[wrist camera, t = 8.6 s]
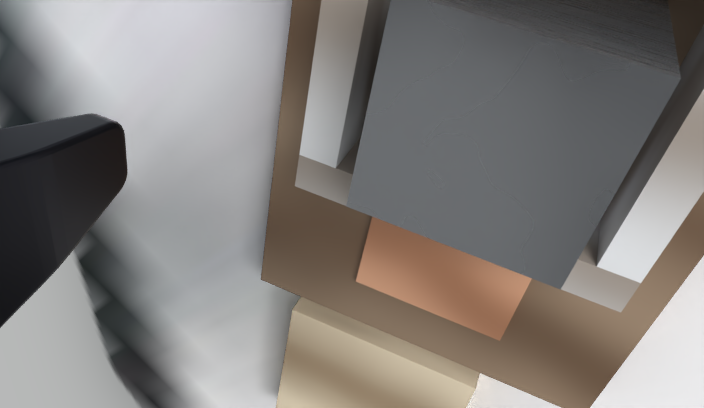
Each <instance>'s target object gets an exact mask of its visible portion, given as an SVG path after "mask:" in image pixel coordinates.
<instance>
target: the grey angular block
mask: <svg viewBox="0 0 704 408" xmlns="http://www.w3.org/2000/svg"><path fill="white" fill-rule="evenodd" d="M680 80H681V75H680V69H679V63H678V58H677V52H676V46H675V40H674V34H673V28H672V22H671V16H670V10H669V4H668V0H391V1H390V6H389V10H388V15H387V20H386V24H385V29H384V34H383V38H382V43H381V47H380V52H379V57H378V61H377V66H376V70H375V75H374V80H373V84H372V89H371V93H370V98H369V103H368V107H367V112H366V116H365V121H364V126H363V130H362V135H361V139H360V144H359V149H358V153H357V158H356V162H355V167H354V172H353V176H352V181H351V186H350V190H349V195H348V199H347V204H346V206H347V207H349V208H352V209H354V210H357V211H359V212H362V213H365V214H367V215H370V216H372V217H375V218H377V219H380V220H383V221H385V222H388V223H390V224H393V225H395V226H398V227H401V228H403V229H406V230H408V231H411V232H413V233H416V234H419V235H421V236H424V237H426V238H429V239H432V240H434V241H437V242H439V243H442V244H444V245H447V246H450V247H452V248H455V249H457V250H460V251H462V252H465V253H468V254H470V255H473V256H475V257H478V258H480V259H483V260H486V261H488V262H491V263H493V264H496V265H498V266H501V267H504V268H506V269H509V270H511V271H514V272H516V273H519V274H522V275H524V276H527V277H529V278H532V279H534V280H537V281H540V282H542V283H545V284H547V285H550V286H553V287H555V288H558V289H560V290H561V288H562V286H563V285H564V283H565V281H566V279H567V278H568V276H569V274H570V272H571V271H572V269H573V267H574V265H575V264H576V262H577V260H578V258H579V257H580V255H581V253H582V251H583V250H584V248H585V246H586V244H587V243H588V241H589V239H590V237H591V236H592V234H593V232H594V230H595V229H596V227H597V225H598V223H599V222H600V220H601V218H602V216H603V215H604V213H605V211H606V209H607V208H608V206H609V204H610V202H611V201H612V199H613V197H614V195H615V194H616V192H617V190H618V188H619V187H620V185H621V183H622V181H623V180H624V178H625V176H626V174H627V173H628V171H629V169H630V167H631V165H632V164H633V162H634V160H635V158H636V157H637V155H638V153H639V151H640V150H641V148H642V146H643V144H644V143H645V141H646V139H647V137H648V136H649V134H650V132H651V130H652V129H653V127H654V125H655V123H656V122H657V120H658V118H659V116H660V115H661V113H662V111H663V109H664V108H665V106H666V104H667V102H668V101H669V99H670V97H671V95H672V94H673V92H674V90H675V88H676V87H677V85H678V83H679V81H680Z"/></svg>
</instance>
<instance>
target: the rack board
mask: <svg viewBox="0 0 704 408" xmlns="http://www.w3.org/2000/svg"><path fill="white" fill-rule="evenodd" d="M390 1H391V0H292V9H291V18H290V27H289V35H288V44H287V53H286V62H285V71H284V80H283V88H282V97H281V106H280V115H279V124H278V133H277V141H276V150H275V159H274V168H273V177H272V186H271V194H270V203H269V212H268V221H267V230H266V239H265V247H264V256H263V265H262V274H261V280H263V281H266V282H268V283H270V284H273V285H275V286H277V287H280V288H282V289H284V290H287V291H289V292H291V293H294V294H296V295H299V296H301V297H303V298H306V299H308V300H310V301H313V302H315V303H317V304H320V305H322V306H324V307H327V308H329V309H331V310H334V311H336V312H338V313H341V314H343V315H345V316H348V317H350V318H353V319H355V320H357V321H360V322H362V323H364V324H367V325H369V326H371V327H374V328H376V329H378V330H381V331H383V332H385V333H388V334H390V335H392V336H395V337H397V338H400V339H402V340H404V341H407V342H409V343H411V344H414V345H416V346H418V347H421V348H423V349H425V350H428V351H430V352H432V353H435V354H437V355H439V356H442V357H444V358H447V359H449V360H451V361H454V362H456V363H458V364H461V365H463V366H465V367H468V368H470V369H472V370H475V371H477V372H479V373H482V374H484V375H486V376H489V377H491V378H494V379H496V380H498V381H501V382H503V383H505V384H508V385H510V386H512V387H515V388H517V389H519V390H522V391H524V392H526V393H529V394H531V395H533V396H536V397H538V398H541V399H543V400H545V401H548V402H550V403H552V404H555V405H557V406H559V407H562V408H590V407H591V405H592V404H593V403H594V401H595V400H596V399H597V397H598V396H599V395H600V393H601V392H602V391H603V389H604V388H605V387H606V385H607V384H608V382H609V381H610V380H611V378H612V377H613V376H614V374H615V373H616V372H617V370H618V369H619V368H620V366H621V365H622V364H623V362H624V361H625V360H626V358H627V357H628V356H629V354H630V353H631V352H632V350H633V349H634V348H635V346H636V345H637V344H638V342H639V341H640V340H641V338H642V337H643V336H644V334H645V333H646V332H647V330H648V329H649V328H650V326H651V325H652V324H653V322H654V321H655V320H656V318H657V317H658V316H659V314H660V313H661V312H662V310H663V309H664V308H665V306H666V305H667V304H668V302H669V301H670V300H671V298H672V297H673V296H674V294H675V293H676V292H677V290H678V289H679V288H680V286H681V285H682V284H683V282H684V281H685V279H686V278H687V277H688V275H689V274H690V273H691V271H692V270H693V269H694V267H695V266H696V265H697V263H698V262H699V261H700V259H701V258H702V257H703V255H704V0H668V4H669V10H670V16H671V22H672V28H673V34H674V40H675V46H676V52H677V58H678V63H679V69H680V75H681V80H680V81H679V83H678V85H677V87H676V88H675V90H674V92H673V94H672V95H671V97H670V99H669V101H668V102H667V104H666V106H665V108H664V109H663V111H662V113H661V115H660V116H659V118H658V120H657V122H656V123H655V125H654V127H653V129H652V130H651V132H650V134H649V136H648V137H647V139H646V141H645V143H644V144H643V146H642V148H641V150H640V151H639V153H638V155H637V157H636V158H635V160H634V162H633V164H632V165H631V167H630V169H629V171H628V173H627V174H626V176H625V178H624V180H623V181H622V183H621V185H620V187H619V188H618V190H617V192H616V194H615V195H614V197H613V199H612V201H611V202H610V204H609V206H608V208H607V209H606V211H605V213H604V215H603V216H602V218H601V220H600V222H599V223H598V225H597V227H596V229H595V230H594V232H593V234H592V236H591V237H590V239H589V241H588V243H587V244H586V246H585V248H584V250H583V251H582V253H581V255H580V257H579V258H578V260H577V262H576V264H575V265H574V267H573V269H572V271H571V272H570V274H569V276H568V278H567V279H566V281H565V283H564V285H563V286H562V288H561V290H560V289H558V288H555V287H553V286H550V285H547V284H545V283H542V282H540V281H537V280H534V279H532V278H529V277H527V276H524V275H522V274H519V273H516V272H514V271H511V270H509V269H506V268H504V267H501V266H498V265H496V264H493V263H491V262H488V261H486V260H483V259H480V258H478V257H475V256H473V255H470V254H468V253H465V252H462V251H460V250H457V249H455V248H452V247H450V246H447V245H444V244H442V243H439V242H437V241H434V240H432V239H429V238H426V237H424V236H421V235H419V234H416V233H413V232H411V231H408V230H406V229H403V228H401V227H398V226H395V225H393V224H390V223H388V222H385V221H383V220H380V219H377V218H375V217H372V216H370V215H367V214H365V213H362V212H359V211H357V210H354V209H352V208H349V207H347V206H346V204H347V199H348V195H349V190H350V186H351V181H352V176H353V172H354V167H355V162H356V158H357V153H358V149H359V144H360V139H361V135H362V130H363V126H364V121H365V116H366V112H367V107H368V103H369V98H370V93H371V89H372V84H373V80H374V75H375V70H376V66H377V61H378V57H379V52H380V47H381V43H382V38H383V34H384V29H385V24H386V20H387V15H388V10H389V6H390Z"/></svg>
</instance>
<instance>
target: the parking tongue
mask: <svg viewBox="0 0 704 408" xmlns="http://www.w3.org/2000/svg"><path fill="white" fill-rule="evenodd" d="M479 374H480V373H479V372H477V371H475V370H472V369H470V368H468V367H465V366H463V365H461V364H458V363H456V362H454V361H451V360H449V359H447V358H444V357H442V356H439V355H437V354H435V353H432V352H430V351H428V350H425V349H423V348H421V347H418V346H416V345H414V344H411V343H409V342H407V341H404V340H402V339H400V338H397V337H395V336H392V335H390V334H388V333H385V332H383V331H381V330H378V329H376V328H374V327H371V326H369V325H367V324H364V323H362V322H360V321H357V320H355V319H353V318H350V317H348V316H345V315H343V314H341V313H338V312H336V311H334V310H331V309H329V308H327V307H324V306H322V305H320V304H317V303H315V302H313V301H310V300H308V299H306V298H303V297H300V299H299V300H298V302H297V303H296V305H295V306H294V308H293V309H292V315H291V321H290V327H289V333H288V339H287V345H286V350H285V356H284V362H283V368H282V374H281V380H280V386H279V392H278V398H277V404H276V408H466V406H467V404H468V402H469V400H470V398H471V397H472V395H473V393H474V391H475V389H476V385H477V381H478V378H479Z"/></svg>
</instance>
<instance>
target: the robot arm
mask: <svg viewBox="0 0 704 408" xmlns="http://www.w3.org/2000/svg"><path fill="white" fill-rule="evenodd" d="M126 177H127V159H126V145H125V134H124V130H123V128H122V126H121V125H120V124H119V123H118V122H116V121H113V120H111V119H108V118H106V117H103V116H101V115H97V114H85V115H79V116H73V117H67V118H61V119H55V120H49V121H43V122H37V123H31V124H25V125H19V126H13V127H7V128H1V129H0V328H1V326H2V325H3V324H4V323H5V322H6V321H7V320H8V319H9V318H10V317H11V316H12V315H13V314H14V313H15V312H16V311H17V310H18V309H19V308H20V307H21V306H22V305H23V304H24V303H25V302H26V301H27V300H28V299H29V298H30V297H31V296H32V295H33V294H34V293H35V292H36V291H37V290H38V289H39V288H40V287H41V286H42V285H43V284H44V282H46V280H47V279H48V278H49V277H50V276H51V275H52V274H53V273H54V272H55V271H56V270H57V269H58V268H59V266H60V265H61V264H62V263H63V262H64V260H65V259H66V258H67V257H68V255H70V253H71V252H72V251H73V249H74V248H75V247H76V246H77V244H78V243H79V242H80V241H81V239H82V238H83V237H84V236H85V234H86V233H87V232H88V231H89V229H90V228H91V227H92V225H93V224H94V223H95V222H96V220H97V219H98V218H99V217H100V215H101V214H102V213H103V212H104V210H105V209H106V208H107V207H108V205H109V204H110V203H111V201H112V200H113V199H114V198H115V196H116V195H117V194H118V193H119V191H120V190H121V189H122V187H123V185H124V183H125V181H126Z"/></svg>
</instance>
